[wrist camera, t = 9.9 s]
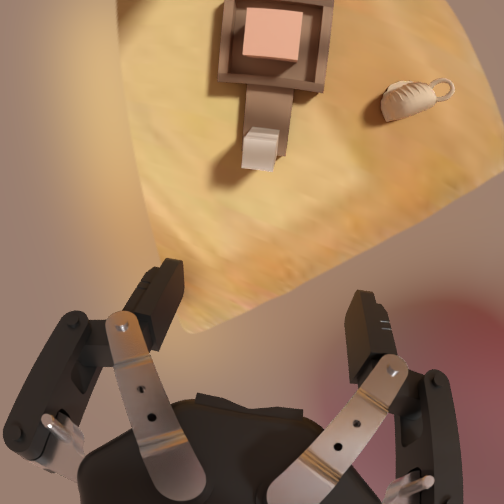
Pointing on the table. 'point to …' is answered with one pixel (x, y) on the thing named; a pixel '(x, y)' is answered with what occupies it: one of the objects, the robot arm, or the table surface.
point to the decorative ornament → (411, 98)
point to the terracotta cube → (272, 34)
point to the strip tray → (273, 74)
